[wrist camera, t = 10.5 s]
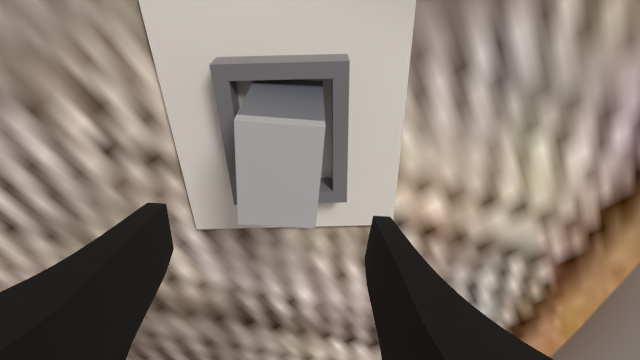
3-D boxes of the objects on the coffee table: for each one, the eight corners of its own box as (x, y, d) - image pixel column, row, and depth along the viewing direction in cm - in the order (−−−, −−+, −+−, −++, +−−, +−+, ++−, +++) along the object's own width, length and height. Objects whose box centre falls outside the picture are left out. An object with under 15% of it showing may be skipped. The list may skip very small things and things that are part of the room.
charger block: (256, 160, 22) (238, 224, 16) (255, 75, 19) (233, 120, 14) (315, 164, 22) (315, 228, 17) (322, 81, 19) (325, 127, 14)
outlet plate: (198, 225, 25) (190, 244, 23) (140, -8, 17) (122, -4, 16) (391, 220, 25) (397, 239, 23) (415, -15, 17) (426, -12, 16)
